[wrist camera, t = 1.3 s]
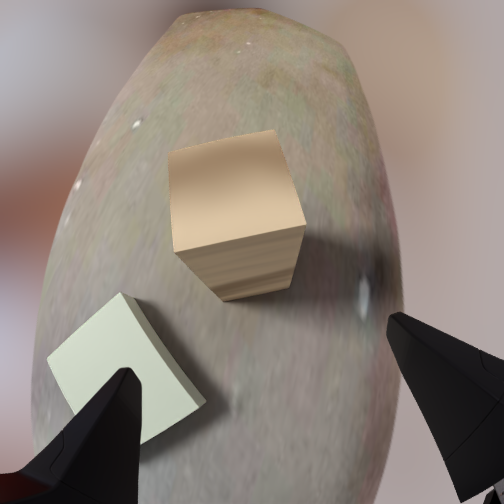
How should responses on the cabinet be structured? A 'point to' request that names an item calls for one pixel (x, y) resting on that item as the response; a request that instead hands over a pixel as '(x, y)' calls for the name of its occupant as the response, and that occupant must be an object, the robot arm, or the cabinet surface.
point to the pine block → (236, 214)
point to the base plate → (124, 365)
